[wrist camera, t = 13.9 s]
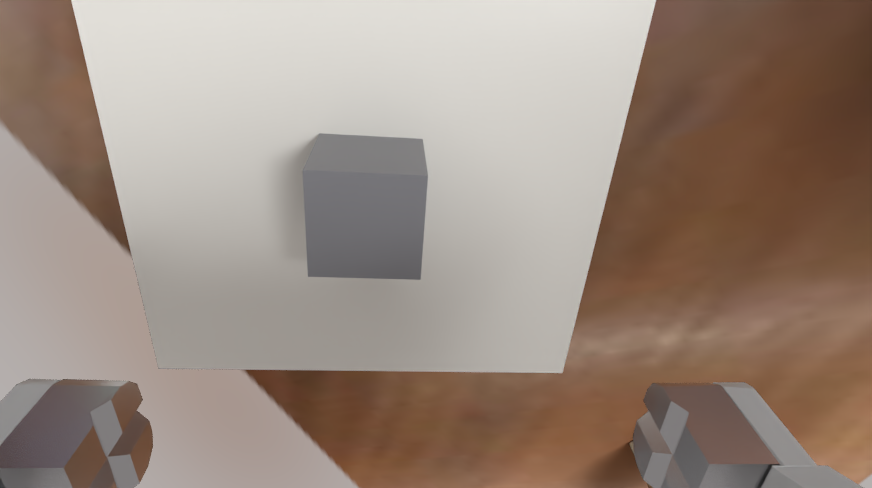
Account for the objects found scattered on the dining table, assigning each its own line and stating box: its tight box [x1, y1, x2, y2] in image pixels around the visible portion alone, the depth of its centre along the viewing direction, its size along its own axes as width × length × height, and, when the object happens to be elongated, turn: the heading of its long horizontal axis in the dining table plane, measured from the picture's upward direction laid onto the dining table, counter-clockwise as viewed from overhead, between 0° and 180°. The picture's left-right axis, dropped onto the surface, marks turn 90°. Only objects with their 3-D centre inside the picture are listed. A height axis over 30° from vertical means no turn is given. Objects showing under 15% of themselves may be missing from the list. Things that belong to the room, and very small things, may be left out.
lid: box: [71, 0, 656, 373], centre depth 20 cm, size 20×20×5 cm
